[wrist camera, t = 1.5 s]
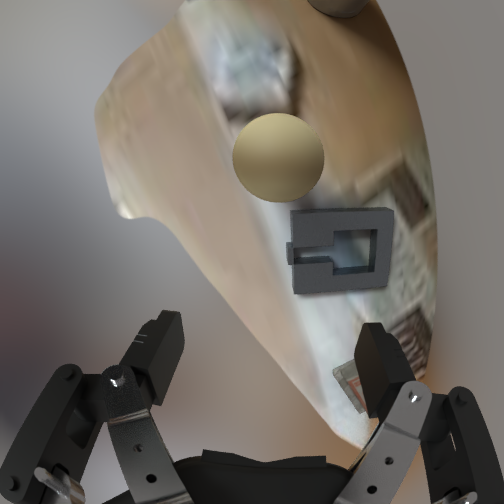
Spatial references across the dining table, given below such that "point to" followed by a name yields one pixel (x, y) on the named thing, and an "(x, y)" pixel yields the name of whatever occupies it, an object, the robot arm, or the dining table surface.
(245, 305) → the dining table surface
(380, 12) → the dining table surface
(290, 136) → the walnut peg
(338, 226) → the keyhole plate
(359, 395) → the packaged product
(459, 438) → the robot arm
